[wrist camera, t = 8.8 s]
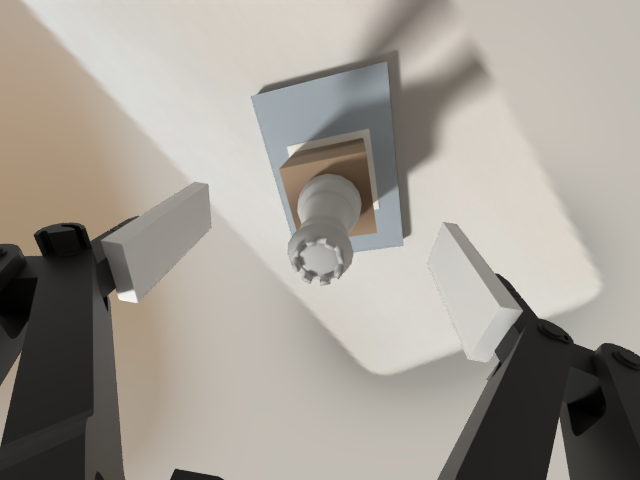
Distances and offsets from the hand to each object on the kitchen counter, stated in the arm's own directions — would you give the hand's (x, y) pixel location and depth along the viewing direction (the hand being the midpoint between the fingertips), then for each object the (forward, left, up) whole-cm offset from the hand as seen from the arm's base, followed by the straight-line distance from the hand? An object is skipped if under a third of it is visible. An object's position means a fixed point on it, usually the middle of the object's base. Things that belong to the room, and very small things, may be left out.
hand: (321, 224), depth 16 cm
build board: (0, 0, -12) cm, 12 cm away
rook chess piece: (0, 0, -5) cm, 5 cm away
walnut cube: (0, 0, -11) cm, 11 cm away
